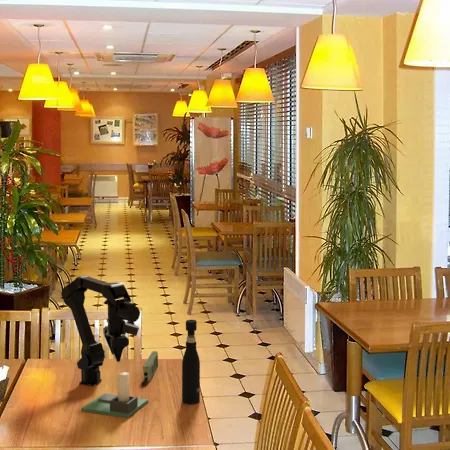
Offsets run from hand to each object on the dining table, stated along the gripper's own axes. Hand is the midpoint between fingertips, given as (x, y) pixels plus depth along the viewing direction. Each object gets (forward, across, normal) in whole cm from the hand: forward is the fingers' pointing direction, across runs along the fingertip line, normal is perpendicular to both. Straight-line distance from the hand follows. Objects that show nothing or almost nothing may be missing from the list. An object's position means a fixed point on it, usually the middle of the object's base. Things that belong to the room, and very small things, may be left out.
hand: (115, 357), depth 285 cm
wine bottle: (+13, -18, -24) cm, 33 cm away
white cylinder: (+12, -20, +1) cm, 24 cm away
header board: (+13, -15, +3) cm, 20 cm away
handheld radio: (+14, +14, -16) cm, 25 cm away
